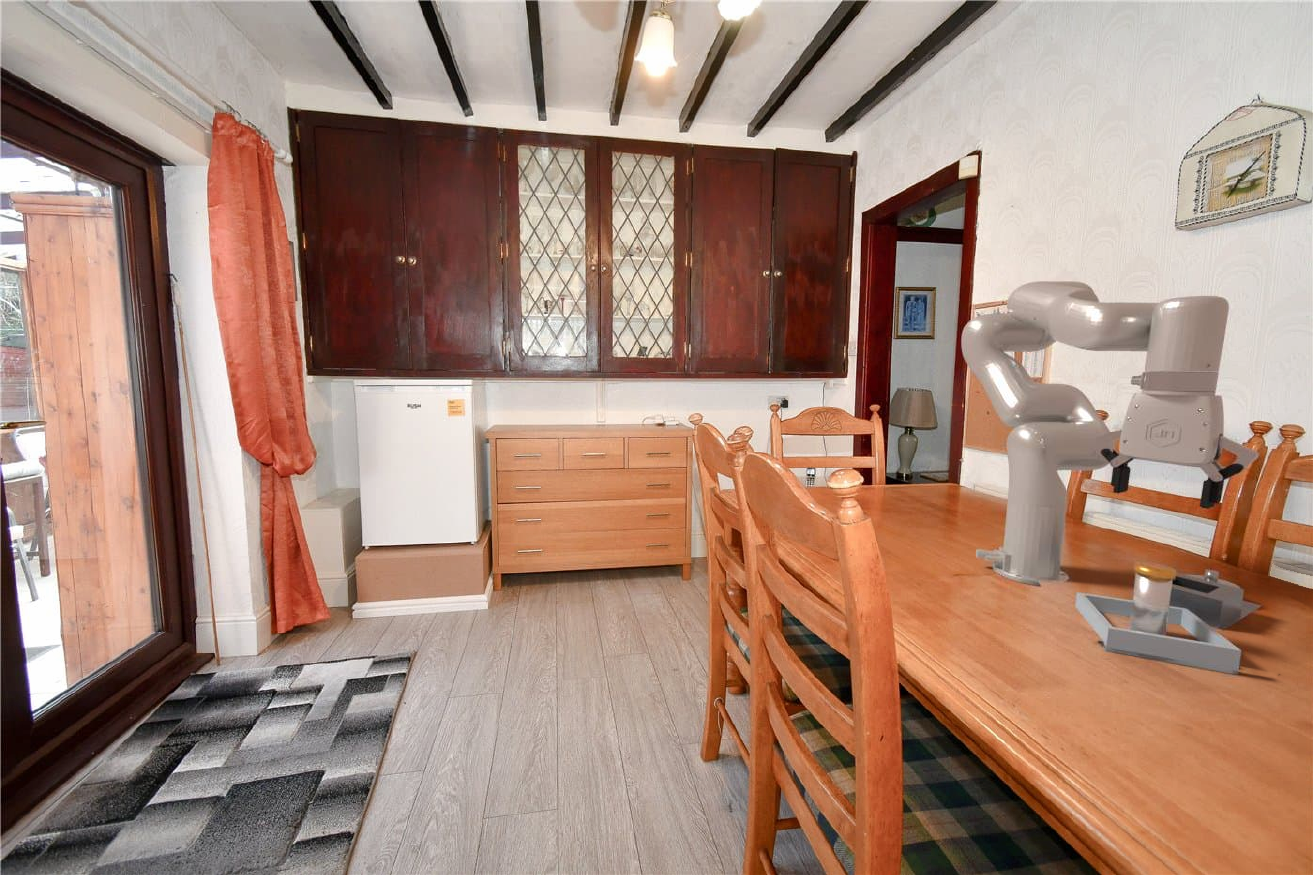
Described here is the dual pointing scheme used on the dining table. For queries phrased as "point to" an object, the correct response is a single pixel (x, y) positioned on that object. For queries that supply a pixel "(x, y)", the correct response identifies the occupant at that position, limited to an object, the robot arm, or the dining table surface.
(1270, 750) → the dining table surface
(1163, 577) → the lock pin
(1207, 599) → the dark grey slotted base
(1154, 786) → the dining table surface
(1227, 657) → the gray square frame
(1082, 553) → the dining table surface
